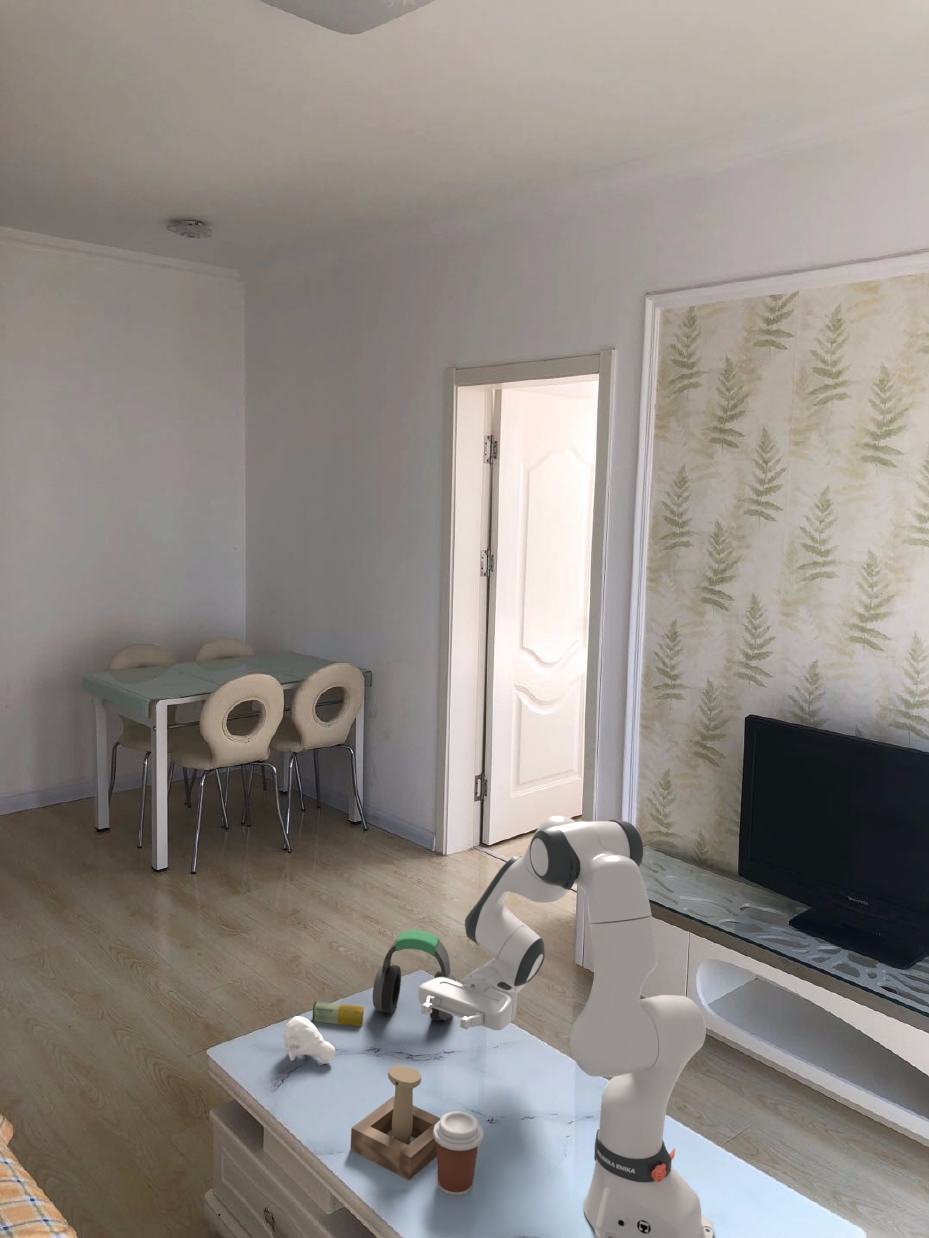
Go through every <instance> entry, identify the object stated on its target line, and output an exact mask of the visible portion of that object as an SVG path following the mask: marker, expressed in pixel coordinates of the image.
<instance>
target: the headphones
mask: <svg viewBox="0 0 929 1238" xmlns="http://www.w3.org/2000/svg"><path fill="white" fill-rule="evenodd" d="M402 950H418V951H422V952H425V953H427V954H429V955H431V956H432V957H434V958H435V959H436V960H437V962H438V965H439V966H440V969H441V971H440V970H439V971H436V973H435V975H434V977H433V979H434V978H437V977H445V978H449V979H452V980H455V981H457V979H456V977H455V976H454V975H453V974H451V964H450V956H449V953H448V951H447V949H446V947H445V945H444V944H443V943H442V942H441V940H440V938H439V937H438V936H437V935H435V934H433V933H431V932H429V931H428V932H427V931H423V930H413V929H412V930H405V931H401V933H400V934H399V936H398V937H397V938H396V939H395V940H394V941H393V943H392V944H391V946H390V947H389V950H388V951H387V953H386V955H385V956H384V960H383V964H382V966H380V967H379V968H378V970H377V972H376V974H375V978H374V982H373V988H372V1005H373V1007H374V1008H375V1009H376V1010H377V1011H380V1012H383V1013H385V1014H394V1012H395V1010H396V1007H397V1006H398V1002H399V997H400V993H401V992H400V991H401V985H402V984H401V983H402V971H401V967H400V966H399V965H396V964H391V963H392V957H393V954H394V953H395V952H399V951H402ZM429 1017H430V1019H431V1020H433V1021H441V1020H442V1021H447V1020H449V1019H450V1018H451V1017H453V1015H452V1014H449V1013H446V1012H443V1011H441V1010H438V1009H435V1008H432V1013H430V1014H429Z"/></svg>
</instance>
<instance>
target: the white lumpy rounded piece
mask: <svg viewBox="0 0 929 1238" xmlns="http://www.w3.org/2000/svg"><path fill="white" fill-rule="evenodd" d="M284 1029H285V1030H284V1032H283V1034H282V1037H283V1043H284V1046H285V1048H286V1052H287V1054H288V1058H289V1060H290V1061H292V1062H294V1061H295V1059H296V1057H300V1056H304V1055H305V1056H314V1057H316V1058H318V1059H320V1061H317V1063H318V1066H320V1065H325V1064H326V1065H329V1063H330V1062H331V1061H332V1060H334V1058H335V1055H336V1049H335V1047H334V1046H333V1045H332V1044H331V1043H330V1042H328V1041H325V1039H324V1037H323V1035H322V1034H321V1033H320V1032H319V1030H318V1028H317V1026H316V1025H315V1024H314V1023H313V1022H311V1021H310V1020H309V1019H308V1018H306V1017H304V1016H299V1015H297V1016H296V1015H295V1016H294V1017H292V1018H291V1019H290V1020H289V1021H288V1022H287V1024H286V1026H285V1028H284Z"/></svg>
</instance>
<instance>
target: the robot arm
mask: <svg viewBox="0 0 929 1238" xmlns="http://www.w3.org/2000/svg"><path fill="white" fill-rule="evenodd" d="M643 857H644V843H643V839H642V836H641V835H640V833H639V831H638V830H637V828H636V827H635V825H633V824H632V823H630V821H629V822H628V821H625V820H621V819H619V820H618V819H610V820H607V821H605V820H603V821H602V820H598V821H597V820H596V821H595V820H594V821H593V820H591V821H584V820H581V821H576V820H574V819H573V818H571V817H568V816H565V815H552V816H549V817H547V818H546V819H544V820H543V822H542V823H541V824H540V825H539V827H538V828H537V829H536V831H535V833H534V834H533V836H532V838H531V839H530V841H529V844H528V845H527V848H526V851H525V853H524V855H523V856H522V855H515V856H513V857H511V858H510V859H509V860H508V861H506V862H505V863H504V864H503V866H501V867H500V869H499V870H498V872H497V873H496V874H495V876H494V877H493V878H492V880H491V881H490V883H489V885H488V886H487V888H486V889H485V890H484V892H483V894H482V895H481V897H480V898H479V900H478V901H477V902H476V904H474V906H473V907H472V908H471V909H470V911H469V912H468V913H467V915H466V917H465V919H464V930H465V934H466V937H467V938H468V939H469V940H471V941H472V942H473V943H475V944H477V946H479V947H481V948H482V949H483V950H485V952H486V953H487V954H488V955H490V956H491V957H492V959H490V960H489V961H487V962H486V963H485V964H484V965H482V966H479V967H478V968H475V970H473V971H472V972H470V973H469V974H466V975H465V976H463V978H462V979H461V981H457V980H456V981H455V980H452V979H449V978H445V977H437V978H434V977H433V978H431V979H430V980H427V981H425V982H423V983H421V984H420V985H419V987H418V1002H419V1003H420V1004H422V1005H421V1007H420V1009H421V1011H420V1012H421V1014H424V1015H426V1016H430V1013H432V1008H435V1009H438V1010H441V1011H443V1012H446V1013H449V1014H452V1016H455V1017H458V1018H459V1019H460V1025H459V1027H460V1028H462V1029H464V1030H465V1031H466V1030H468V1029H470V1028H473V1027H475V1028H476V1027H485V1028H487V1029H491V1030H492V1031H501V1030H504V1029H505V1028H506V1027H508V1025H510V1024H511V1022H512V1021H514V1020H515V1019H516V1014H517V1004H518V1001H517V999H518V998H517V997H518V996H517V994H518V993H519V992H520V991H522V989H524V987H525V986H526V985H527V983H529V982H531V981H532V980H533V978H534V977H535V976H536V975H537V973H538V972H539V971H540V969H541V967H542V965H543V963H544V961H545V955H546V951H545V949H546V948H545V943H544V939H543V938H542V937H541V936H540V935H539V934H537V932H535V931H534V930H533V929H532V928H531V927H529V926H528V925H527V924H525V923H524V922H523V921H521V919H519V918H518V917H517V916H515V914H513V913H512V912H511V911H510V910H509V909H508V908H507V906H506V905H505V904H504V901H505V900H506V898H507V897H508V895H509V894H510V893H513V894H514V895H515V894H516V895H518V896H520V897H522V898H525V899H526V900H528V901H531V902H533V903H539V904H548V903H554V902H556V901H557V902H558V901H559V900H561V899H563V898H564V897H565V896H566V895H567V894H568V892H569V891H570V890H571V889H572V888H573V886H574V884H575V885H578V886H579V887H581V889H582V890H583V891H584V894H585V896H586V901H587V911H588V919H589V921H588V922H589V927H590V933H591V935H590V936H591V941H592V950H593V961H594V962H593V963H594V971H593V972H594V974H593V983H592V986H591V991H590V994H589V997H588V1000H587V1003H586V1004H585V1006H584V1008H583V1009H582V1012H581V1013H580V1015H579V1016H578V1017H577V1019H576V1020H575V1021H574V1023H573V1025H572V1027H571V1030H570V1036H569V1037H570V1038H569V1044H570V1045H569V1046H570V1051H571V1054H572V1057H573V1059H574V1061H575V1063H576V1064H577V1066H578V1067H579V1069H580V1070H581V1071H583V1072H584V1073H585V1074H586V1075H587V1076H590V1077H598V1078H600V1077H603V1078H605V1077H606V1078H607V1077H609V1078H610V1077H611V1079H610V1080H609V1081H608V1082H607V1084H606V1086H605V1087H604V1088H603V1091H602V1094H601V1102H600V1113H599V1123H598V1124H599V1125H598V1126H599V1128H598V1129H597V1131H596V1134H595V1140H594V1141H595V1142H594V1153H593V1154H594V1157H593V1158H594V1159H593V1160H594V1168H593V1174H592V1177H591V1182H590V1186H589V1189H588V1192H587V1194H586V1197H585V1198H584V1202H583V1211H584V1215H585V1217H586V1219H587V1220H588V1222H589V1224H590V1225H591V1227H592V1228H593V1230H594V1237H595V1238H713V1236H714V1233H715V1232H714V1231H715V1230H714V1225H713V1222H712V1220H711V1219H709V1218H708V1217H707V1216H705V1215H704V1214H702V1205H701V1201H700V1197H699V1195H698V1193H697V1192H696V1191H695V1189H693V1188H692V1187H691V1185H690V1184H689V1183H688V1182H687V1181H686V1180H685V1179H684V1178H683V1176H682V1175H681V1174H680V1173H679V1172H678V1171H677V1170H676V1169H675V1168H674V1167H673V1165H672V1160H673V1159H675V1155H676V1149H675V1148H673V1149H672V1150H671V1152H670V1153H669V1152H668V1149H667V1147H666V1145H665V1141H664V1138H663V1137H664V1132H665V1131H664V1129H665V1123H666V1122H665V1121H666V1113H667V1108H668V1107H667V1106H668V1103H669V1101H670V1097H671V1095H672V1092H673V1089H674V1087H675V1086H676V1083H677V1081H678V1079H679V1077H680V1075H681V1074H682V1071H683V1070H684V1068H685V1067H686V1065H687V1064H688V1062H689V1061H690V1060H691V1059H692V1057H693V1056H695V1054H696V1053H697V1052H698V1051H699V1050H701V1049H702V1047H703V1045H704V1044H705V1040H706V1034H707V1028H706V1022H705V1018H704V1015H703V1013H702V1011H701V1010H700V1008H699V1006H698V1005H697V1004H696V1003H695V1001H694V1000H692V999H691V998H689V997H688V996H685V995H675V994H674V995H673V994H672V995H671V994H660V995H655V996H651V997H646V998H642V999H641V994H642V993H641V992H642V989H643V986H644V983H645V981H646V979H647V977H648V976H649V975H650V974H651V973H653V971H654V970H655V968H656V967H657V964H658V961H659V953H658V952H659V950H658V946H657V940H656V939H657V938H656V933H655V932H656V931H655V927H654V921H653V916H652V910H651V905H650V900H649V896H648V892H647V888H646V884H645V882H644V879H643V876H642V873H641V870H640V866H641V864H642V862H643Z"/></svg>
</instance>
